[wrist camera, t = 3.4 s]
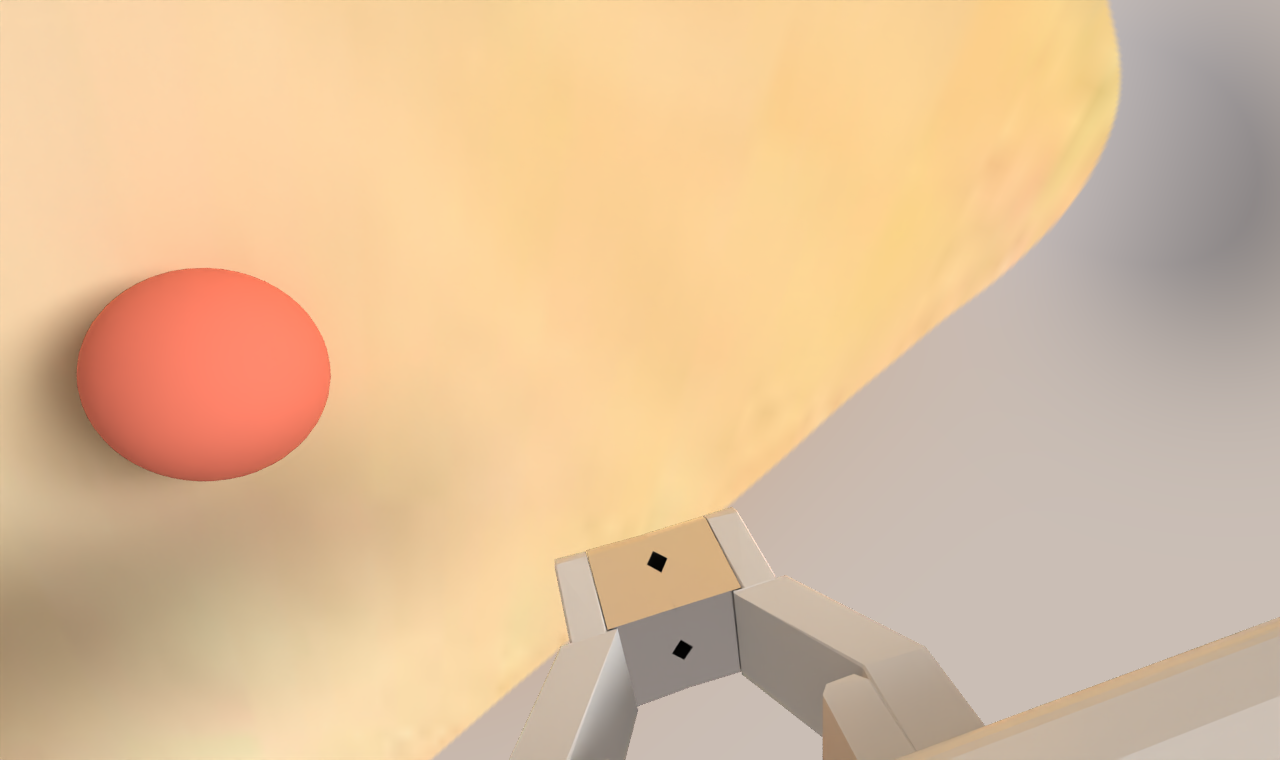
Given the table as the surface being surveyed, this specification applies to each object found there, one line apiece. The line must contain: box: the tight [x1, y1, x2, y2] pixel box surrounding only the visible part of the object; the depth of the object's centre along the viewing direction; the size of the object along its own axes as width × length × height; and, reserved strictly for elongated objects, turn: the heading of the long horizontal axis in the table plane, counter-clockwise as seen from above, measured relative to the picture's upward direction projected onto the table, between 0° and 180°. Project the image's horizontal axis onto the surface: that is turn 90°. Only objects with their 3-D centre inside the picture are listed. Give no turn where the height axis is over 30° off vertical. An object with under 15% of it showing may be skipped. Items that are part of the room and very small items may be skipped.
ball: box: [77, 268, 331, 481], centre depth 19 cm, size 6×6×6 cm
